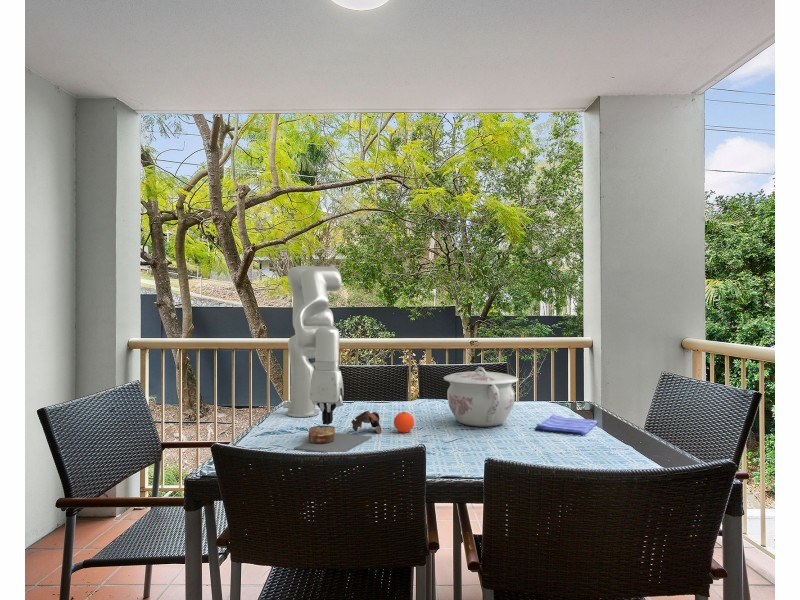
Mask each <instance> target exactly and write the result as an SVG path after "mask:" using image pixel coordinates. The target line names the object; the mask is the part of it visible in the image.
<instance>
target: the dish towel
mask: <svg viewBox="0 0 800 600" xmlns="http://www.w3.org/2000/svg"><path fill="white" fill-rule="evenodd" d="M597 423H598V420H597V419H586V418H584V419H583V418H573V417H572V418H571V417H565V416H560V415H556V414H552V415H550V417H548V418H547V419H545V420H544V421H542V422H541V423H536V427H535V428H534V431H537V432H543V431H544V432H543V433H551V432H553V433H554V434H560V433H563V434H562V435H568V434H573V435H572V436H577V435H582V436H581V437H584V436H585V435H587V434H588V433H589V432H590V431H591V430H592V429H593V428H595V426H596V425H597ZM586 433H587V434H586ZM583 435H584V436H583Z"/></svg>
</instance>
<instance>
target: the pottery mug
mask: <svg viewBox="0 0 800 600" xmlns="http://www.w3.org/2000/svg"><path fill="white" fill-rule="evenodd" d="M380 418H381V417H380V414H379V413H378V412H377V411H372V412H370V410H367V411H366V410H365V411H363V412H362V413H360V414H358V415H357V416H355V418H353V419H352V420H351V423H352V429H353V430H354V431H356V432H357V431H358V429H359V428H360V429H361V428H362V427H363V426H362V425H363V423H364V424H370V426H371V427H372V428H375V429H374V430H375V431H376V434H377V435H379V434H381V433H382V431H383V430H382V428H381V425H380Z"/></svg>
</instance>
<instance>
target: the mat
mask: <svg viewBox="0 0 800 600" xmlns="http://www.w3.org/2000/svg"><path fill="white" fill-rule="evenodd" d="M372 438H373V436H370V435H362V434H351V433H342V432H335V433H334V441H332V442H330V443H311V442H309V440H308V441H306V442H304V443H302V444H300V445H297V446H295V447H293V450H294V451H303V450H305V452H312V453H320V452H345V453H347V452H348V451H350V450H352V449H354V448H356V447H357V446H359V445H361V444H363V443H365V442H368V441H369V440H371V439H372Z"/></svg>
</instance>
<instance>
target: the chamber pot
mask: <svg viewBox="0 0 800 600" xmlns="http://www.w3.org/2000/svg"><path fill="white" fill-rule="evenodd" d="M443 380H444V381H446V382H449V387H448V388H447V402H448V407H449V409H450V411H451V413H452V415H453V416H454V418H455V420H456V421H457V422H459V423H461V424H463V425H465V426H468V425H469V427H473V426H477V428H491V426H492V427H496V426H498V425H501V424H503V423H505V422H506V421H507V419H508V417H509V415H510V414H511V413H512V411H513V409H514V404H515V397H516V394H515V393H516V392H515V390H514V388H513V386H512V385H513V384H515V383H518V381H519V378H518V377H517V376H515V375H511V374H508V373H502V372H496V371H495V372H494V371H486V370H485V368H484V367H483V366H478V367H477V368H476V369H475V370H474V371H473V370H472V371H463V372H461V371H460V372H454V373H450V374H448V375H445V376H443Z"/></svg>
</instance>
